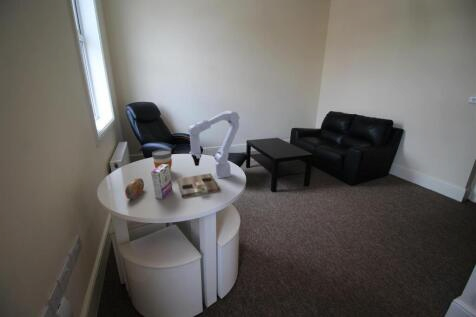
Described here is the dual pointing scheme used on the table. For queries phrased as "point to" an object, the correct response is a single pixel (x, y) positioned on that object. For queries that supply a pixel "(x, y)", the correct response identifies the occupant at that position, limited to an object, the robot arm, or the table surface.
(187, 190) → the board
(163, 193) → the candy bar box
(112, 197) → the table surface
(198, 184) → the maple block
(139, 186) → the brown flattened oblong
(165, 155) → the orange jar
